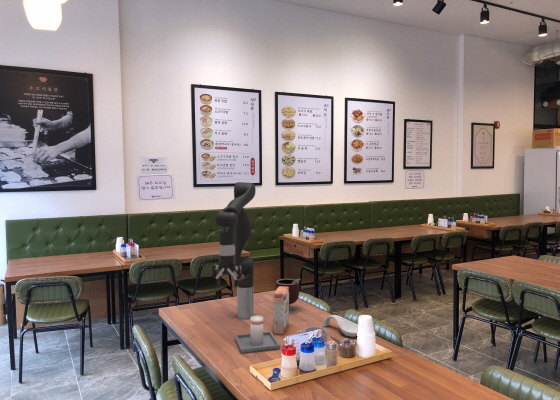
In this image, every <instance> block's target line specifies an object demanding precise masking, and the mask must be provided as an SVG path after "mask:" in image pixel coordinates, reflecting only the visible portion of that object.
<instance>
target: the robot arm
mask: <svg viewBox="0 0 560 400" xmlns="http://www.w3.org/2000/svg"><path fill="white" fill-rule="evenodd" d="M256 191H257V190H256V185H255V184H254V183H253V182H242V181H236V182H235V184H234V187H233V199H232V200H230V201H229V203H228V204H227V205H226V207H224V208H222V209H221V210H219V211H218V212H217V213H216V214H215V217H214V221H215V224H216V226H218V227H222V228H228V229H227V230H225V231H221V232H220V233H219V237H218V238H219V247H218V264H216V263H215V264H213V265H212V272H211V274H212V276H211V277H212V278H213V279H215V280H216V281H215V283H216V286H217V288H218V287H221V276H222V275H227V276H230V275H231V277H233V280H234V284H233V285H234V287H233V288H236V305H237V307H236V309H237V310H236V312H237V313H236V314H237V315H236V316H237V318H238V319H244V320H247V319H250V318H251V317H252V316H255V315H254V314H255V312H254V311H255V310H254V309H255V307H254V306H255V304H254V299H255V298H254V296H255V295H254V294H255V292H254V288H255V287H254V275H255V274H254V272H255V261H254V258H253V257H252V256H250V257H247V256H245V257H242V253H243V250H244V248H245V246H246V245H247V244H248V242H249V241H250V238H251V237H252V233H253V232H252V231H253V230H252V224H253V223H252V221H251V219H250V217H249V215H248V214H247V212H246V210H245V208H244V207H245V206H247V205H248V204H249V203H250V202H251V201H252V200H253V199H254V197H255V196H256ZM217 270H219V272H218V274H217ZM243 275H245V276H243Z"/></svg>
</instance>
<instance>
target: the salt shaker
mask: <svg viewBox="0 0 560 400" xmlns="http://www.w3.org/2000/svg"><path fill="white" fill-rule="evenodd" d="M249 319H250V321H249V322H250V324H249V325H250V330H249V331H250V332H249V333H250V343H251V344H252V345H261V344H263V332H264V316H262V315H254V316H252V317H251V318H249Z"/></svg>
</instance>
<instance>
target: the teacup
mask: <svg viewBox="0 0 560 400" xmlns="http://www.w3.org/2000/svg"><path fill="white" fill-rule="evenodd" d="M317 329H321V330H322V335H321V337H322V338H323V339H324V341H325V342H326V343H327V341H328V330H327V329H326V328H324V327H323V326H317V325H316V326H312V325H311V326H308V327H306V328H304V330H301V329H299V330H297V332H296V335H297V334H299V335H300V333H301V334H303V333H306V332H309V331H314V330H317Z"/></svg>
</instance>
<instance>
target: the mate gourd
mask: <svg viewBox="0 0 560 400" xmlns="http://www.w3.org/2000/svg"><path fill="white" fill-rule="evenodd" d="M299 281H301V278H298V279H293V278H281V279H278V280H276V284H275V289H274V290H275V291H276V289H277V288H278V287H279V286H282V287H289V315H292V313H293V314H296V313H298V312H299V309H298V307H296V306H291V305H293V304H295V303H296V302H297V301H298V300H299V297H300V283H299ZM275 291H274V292H275ZM297 311H298V312H297Z"/></svg>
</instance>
